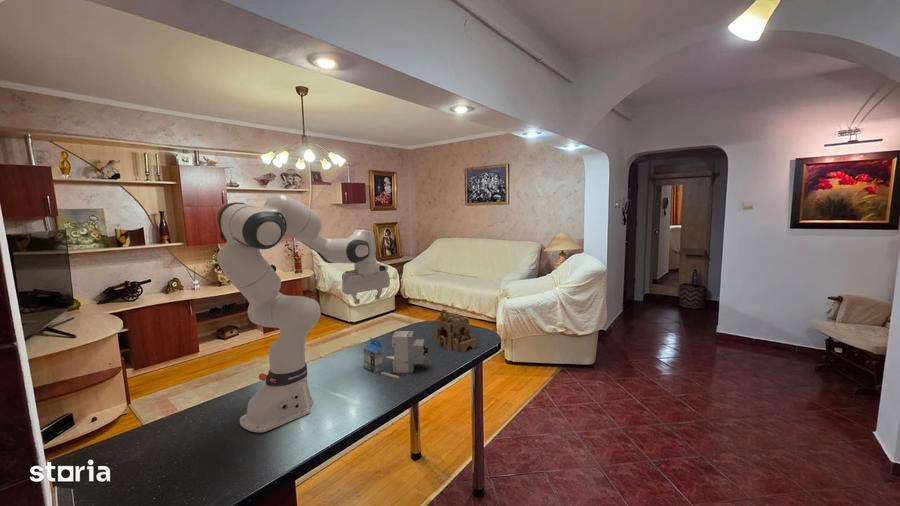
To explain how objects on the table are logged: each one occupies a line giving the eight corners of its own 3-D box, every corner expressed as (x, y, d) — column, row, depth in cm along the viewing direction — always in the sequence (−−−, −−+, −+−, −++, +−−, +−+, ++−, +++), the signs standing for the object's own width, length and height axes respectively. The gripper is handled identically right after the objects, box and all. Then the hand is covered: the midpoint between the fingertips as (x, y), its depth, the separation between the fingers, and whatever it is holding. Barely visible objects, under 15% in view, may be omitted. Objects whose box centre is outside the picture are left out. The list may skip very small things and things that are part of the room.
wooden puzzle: (479, 346, 173) (478, 309, 172) (457, 354, 164) (456, 315, 162) (449, 336, 190) (448, 301, 188) (427, 342, 180) (426, 306, 178)
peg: (397, 379, 139) (397, 377, 139) (380, 374, 144) (380, 372, 144) (399, 378, 140) (399, 375, 140) (382, 373, 145) (382, 370, 145)
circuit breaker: (427, 372, 145) (426, 336, 144) (392, 372, 145) (391, 337, 144) (429, 364, 152) (428, 330, 151) (396, 365, 153) (394, 331, 151)
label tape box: (363, 367, 151) (362, 339, 150) (371, 364, 154) (370, 336, 153) (374, 373, 145) (373, 344, 144) (383, 370, 148) (382, 341, 147)
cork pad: (400, 361, 157) (400, 360, 157) (383, 357, 162) (383, 356, 162) (410, 356, 162) (410, 355, 162) (393, 352, 168) (393, 351, 168)
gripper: (345, 272, 136) (347, 307, 137) (391, 266, 149) (392, 298, 151) (338, 270, 140) (340, 305, 142) (383, 264, 154) (384, 296, 155)
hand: (367, 301), depth 146 cm, fingers open, 8 cm apart
